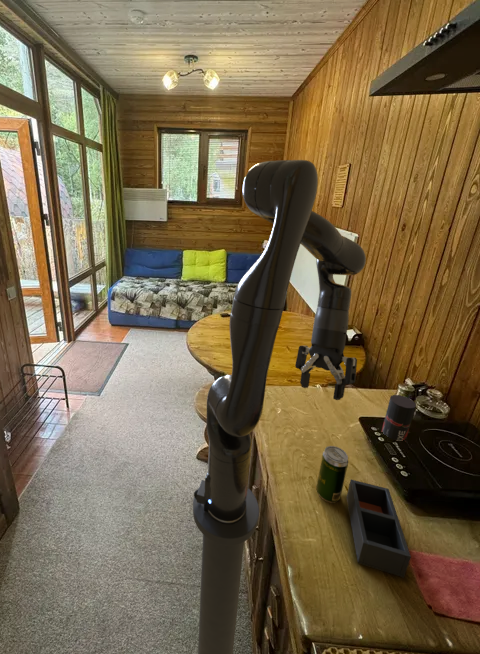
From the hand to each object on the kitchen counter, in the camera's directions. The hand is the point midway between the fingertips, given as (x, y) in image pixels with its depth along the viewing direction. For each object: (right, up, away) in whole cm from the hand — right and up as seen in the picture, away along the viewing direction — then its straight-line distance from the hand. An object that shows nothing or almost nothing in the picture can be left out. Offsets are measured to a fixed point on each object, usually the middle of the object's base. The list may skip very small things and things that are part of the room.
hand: (320, 393), depth 75 cm
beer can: (+1, -24, -1) cm, 24 cm away
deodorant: (+26, -19, +14) cm, 36 cm away
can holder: (+7, -27, -10) cm, 29 cm away
